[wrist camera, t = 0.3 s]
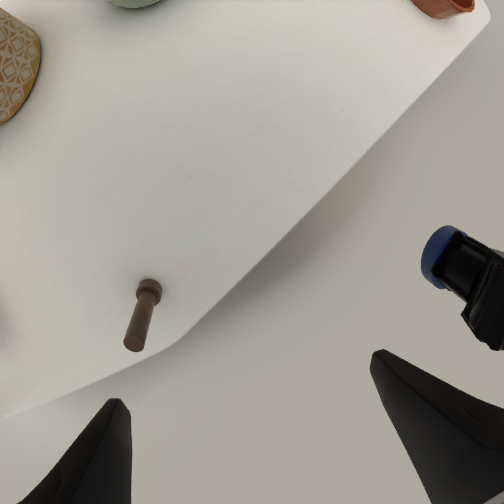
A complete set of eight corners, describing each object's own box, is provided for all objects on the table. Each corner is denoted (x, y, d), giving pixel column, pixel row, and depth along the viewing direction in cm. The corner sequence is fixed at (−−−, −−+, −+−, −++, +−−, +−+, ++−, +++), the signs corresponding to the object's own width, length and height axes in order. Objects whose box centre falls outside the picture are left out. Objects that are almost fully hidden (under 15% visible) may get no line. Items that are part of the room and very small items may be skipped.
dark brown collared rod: (156, 304, 27) (143, 360, 19) (135, 293, 26) (114, 347, 18) (166, 285, 26) (153, 340, 19) (143, 274, 25) (123, 326, 18)
